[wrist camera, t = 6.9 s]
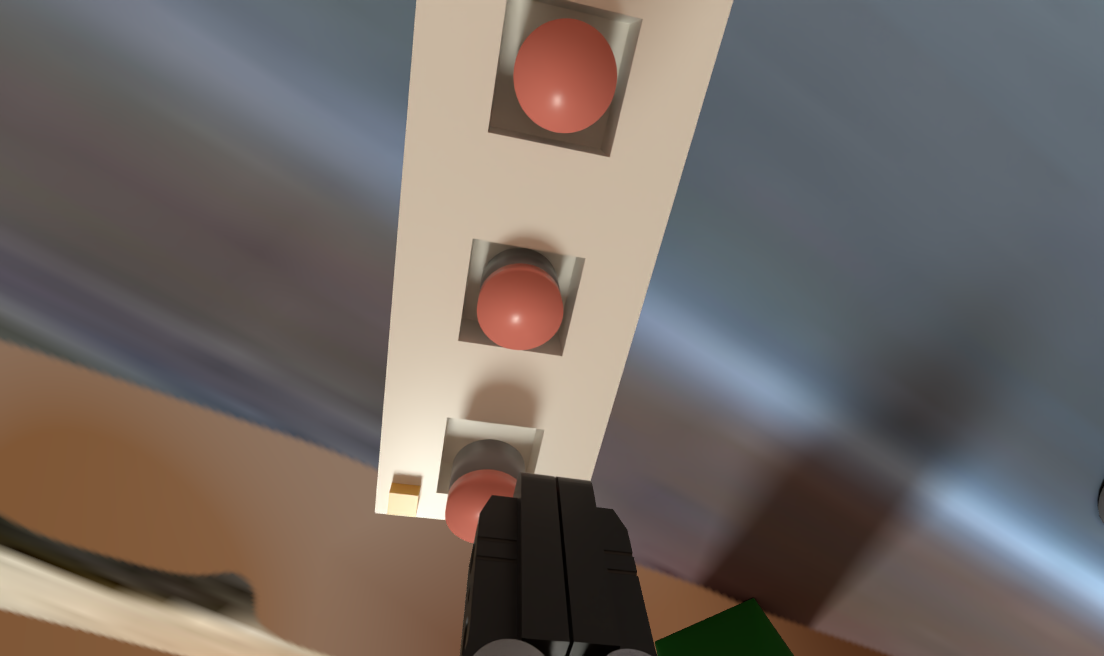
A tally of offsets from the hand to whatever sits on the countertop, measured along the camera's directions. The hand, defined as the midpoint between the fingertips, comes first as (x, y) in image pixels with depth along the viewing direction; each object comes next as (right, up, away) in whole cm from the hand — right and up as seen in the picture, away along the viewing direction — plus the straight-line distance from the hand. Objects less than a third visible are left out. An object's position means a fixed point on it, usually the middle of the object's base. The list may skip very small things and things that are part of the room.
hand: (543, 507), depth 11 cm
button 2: (-1, +5, +10) cm, 11 cm away
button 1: (0, +12, +7) cm, 14 cm away
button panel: (-1, +8, +11) cm, 14 cm away
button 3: (-2, -2, +11) cm, 11 cm away
